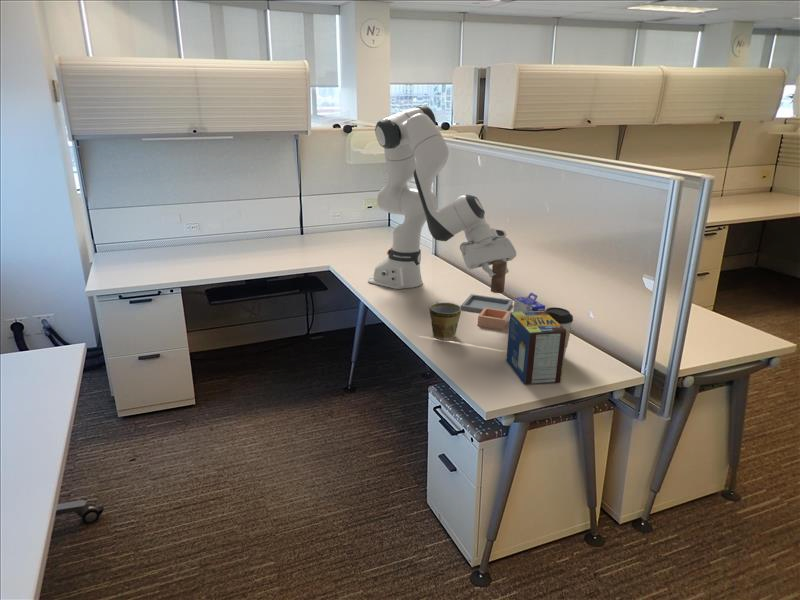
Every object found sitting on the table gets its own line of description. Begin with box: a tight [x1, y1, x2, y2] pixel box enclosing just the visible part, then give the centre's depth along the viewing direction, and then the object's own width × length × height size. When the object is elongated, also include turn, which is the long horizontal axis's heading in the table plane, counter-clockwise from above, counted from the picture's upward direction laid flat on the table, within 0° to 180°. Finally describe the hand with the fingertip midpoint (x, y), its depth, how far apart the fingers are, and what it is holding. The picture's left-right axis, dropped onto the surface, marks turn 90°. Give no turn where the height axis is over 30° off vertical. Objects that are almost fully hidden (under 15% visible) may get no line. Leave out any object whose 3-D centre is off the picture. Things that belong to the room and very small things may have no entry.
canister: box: [490, 260, 506, 294], centre depth 188 cm, size 4×4×10 cm
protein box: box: [505, 310, 567, 385], centre depth 158 cm, size 10×15×16 cm
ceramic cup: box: [429, 302, 462, 342], centre depth 182 cm, size 13×10×10 cm
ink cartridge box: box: [512, 292, 546, 312], centre depth 181 cm, size 10×6×14 cm, turn 24°
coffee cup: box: [545, 306, 574, 361], centre depth 167 cm, size 9×9×15 cm
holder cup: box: [477, 308, 511, 331], centre depth 193 cm, size 9×9×4 cm
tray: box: [460, 293, 514, 314], centre depth 208 cm, size 16×14×2 cm
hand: (499, 274), depth 187 cm, fingers closed on canister, 4 cm apart
